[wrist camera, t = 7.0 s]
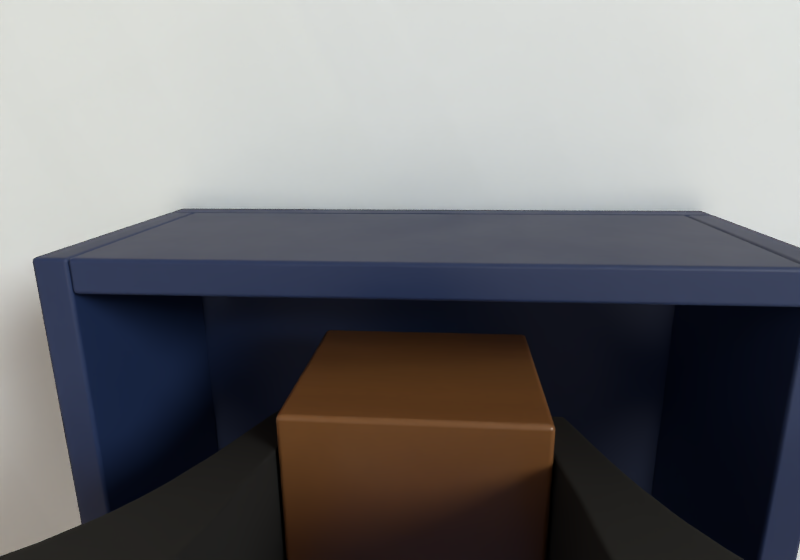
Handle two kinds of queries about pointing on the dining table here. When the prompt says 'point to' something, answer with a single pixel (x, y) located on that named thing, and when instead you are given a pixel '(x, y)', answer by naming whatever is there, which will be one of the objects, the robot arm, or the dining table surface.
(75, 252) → the case
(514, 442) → the block
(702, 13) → the dining table surface
